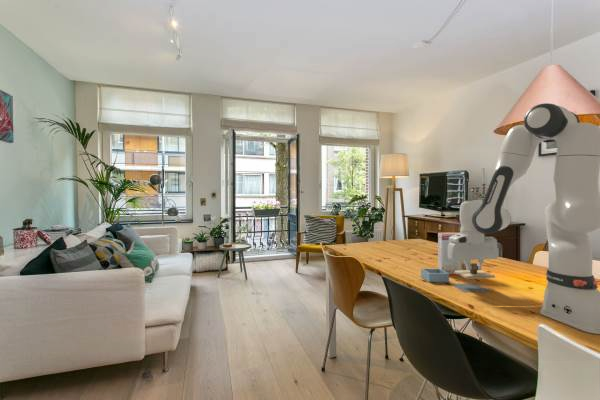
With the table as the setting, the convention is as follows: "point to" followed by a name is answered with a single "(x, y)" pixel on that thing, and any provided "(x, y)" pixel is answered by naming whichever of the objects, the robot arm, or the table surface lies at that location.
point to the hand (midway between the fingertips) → (473, 270)
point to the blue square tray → (435, 275)
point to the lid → (474, 273)
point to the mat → (471, 287)
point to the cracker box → (443, 259)
